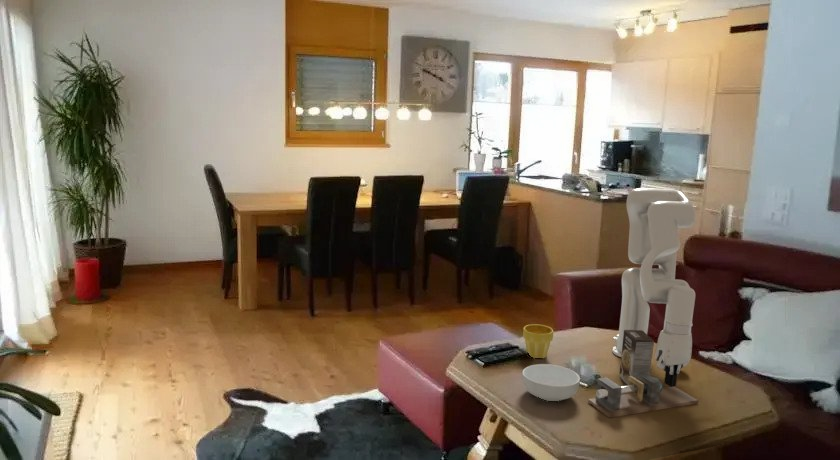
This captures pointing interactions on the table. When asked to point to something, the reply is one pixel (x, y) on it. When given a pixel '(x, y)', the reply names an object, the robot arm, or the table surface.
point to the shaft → (623, 390)
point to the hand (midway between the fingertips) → (669, 384)
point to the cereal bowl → (550, 381)
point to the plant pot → (537, 339)
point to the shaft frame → (638, 397)
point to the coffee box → (635, 354)
